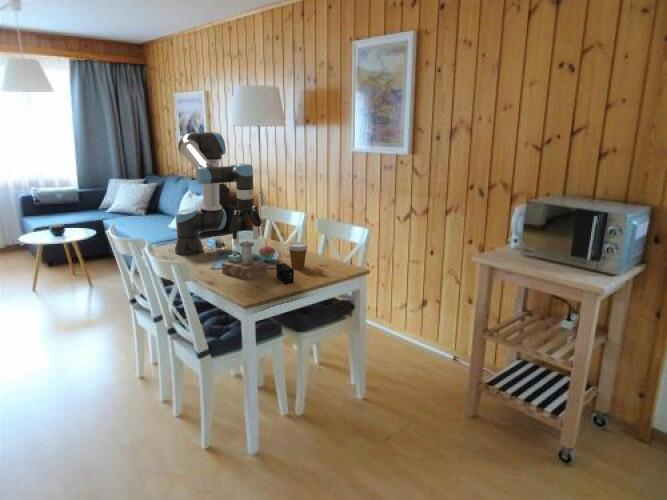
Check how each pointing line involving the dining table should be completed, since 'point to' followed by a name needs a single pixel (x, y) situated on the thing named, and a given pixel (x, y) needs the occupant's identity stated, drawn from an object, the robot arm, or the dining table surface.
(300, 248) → the disposable coffee cup
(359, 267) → the dining table surface
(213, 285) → the dining table surface
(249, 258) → the grey stone pillar
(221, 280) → the dining table surface
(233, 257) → the keeper
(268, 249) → the cupcake
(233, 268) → the hitch block
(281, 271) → the digital camera
